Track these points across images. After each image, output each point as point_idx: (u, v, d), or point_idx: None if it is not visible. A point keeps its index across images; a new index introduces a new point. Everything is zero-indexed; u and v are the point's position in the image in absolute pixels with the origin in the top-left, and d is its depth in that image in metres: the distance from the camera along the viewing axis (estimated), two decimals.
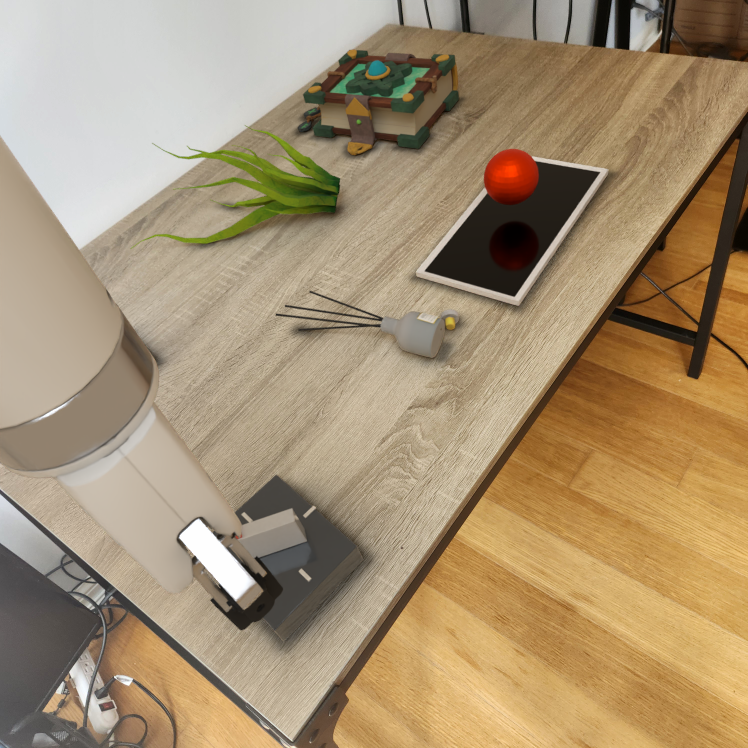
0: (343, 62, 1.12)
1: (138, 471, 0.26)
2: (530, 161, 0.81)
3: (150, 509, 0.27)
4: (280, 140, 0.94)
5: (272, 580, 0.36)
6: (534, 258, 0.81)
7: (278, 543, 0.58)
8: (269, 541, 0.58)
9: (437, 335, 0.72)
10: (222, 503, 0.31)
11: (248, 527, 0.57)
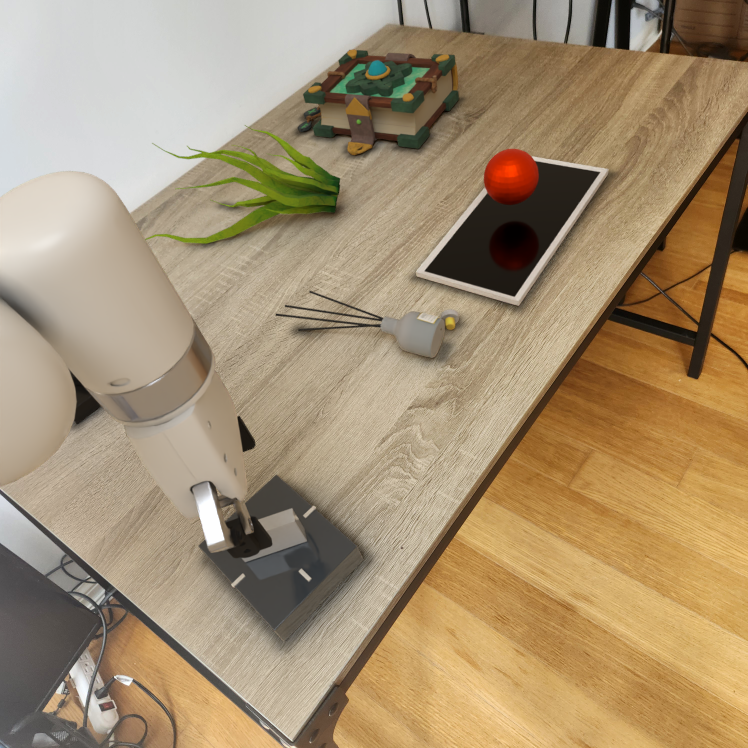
0: (343, 62, 1.12)
1: (169, 442, 0.39)
2: (530, 161, 0.81)
3: (173, 466, 0.41)
4: (280, 140, 0.94)
5: (263, 536, 0.49)
6: (534, 258, 0.81)
7: (278, 543, 0.58)
8: None
9: (437, 335, 0.72)
10: (229, 477, 0.43)
11: None
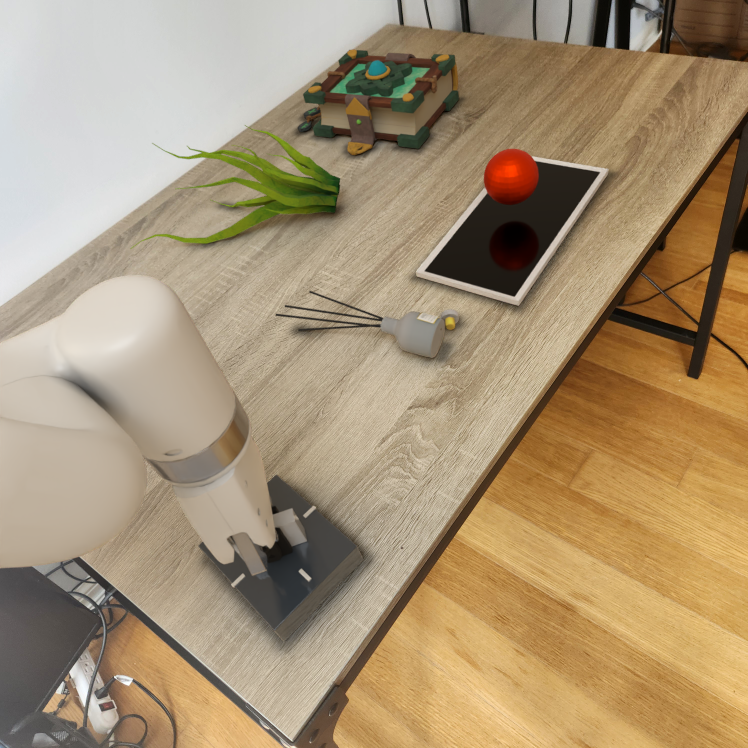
0: (343, 62, 1.12)
1: (212, 501, 0.45)
2: (530, 161, 0.81)
3: (214, 521, 0.46)
4: (280, 140, 0.94)
5: (285, 544, 0.57)
6: (534, 258, 0.81)
7: None
8: None
9: (437, 335, 0.72)
10: (262, 528, 0.48)
11: None
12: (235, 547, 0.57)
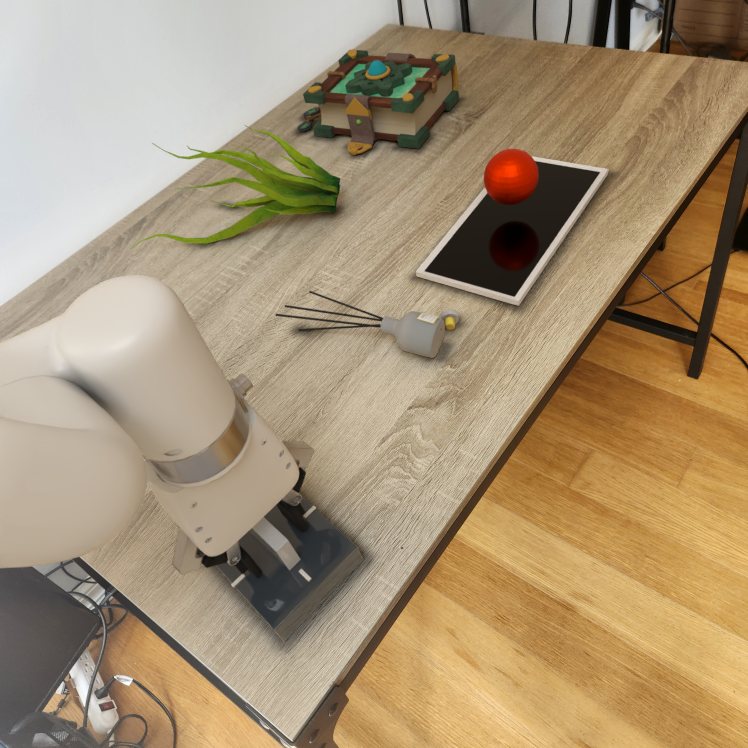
0: (343, 62, 1.12)
1: (157, 492, 0.46)
2: (530, 161, 0.81)
3: (160, 503, 0.48)
4: (280, 140, 0.94)
5: (250, 570, 0.56)
6: (534, 258, 0.81)
7: (269, 549, 0.58)
8: (262, 541, 0.58)
9: (437, 335, 0.72)
10: (196, 541, 0.49)
11: None
12: None
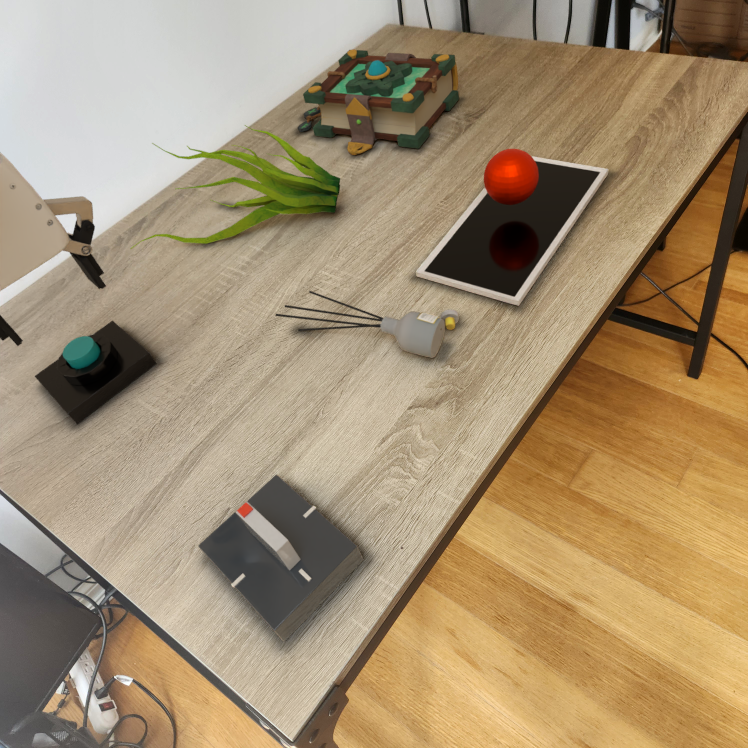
0: (343, 62, 1.12)
1: None
2: (530, 161, 0.81)
3: None
4: (280, 140, 0.94)
5: (6, 334, 0.63)
6: (534, 258, 0.81)
7: (269, 549, 0.58)
8: (262, 541, 0.58)
9: (437, 335, 0.72)
10: None
11: (255, 516, 0.57)
12: (240, 518, 0.59)
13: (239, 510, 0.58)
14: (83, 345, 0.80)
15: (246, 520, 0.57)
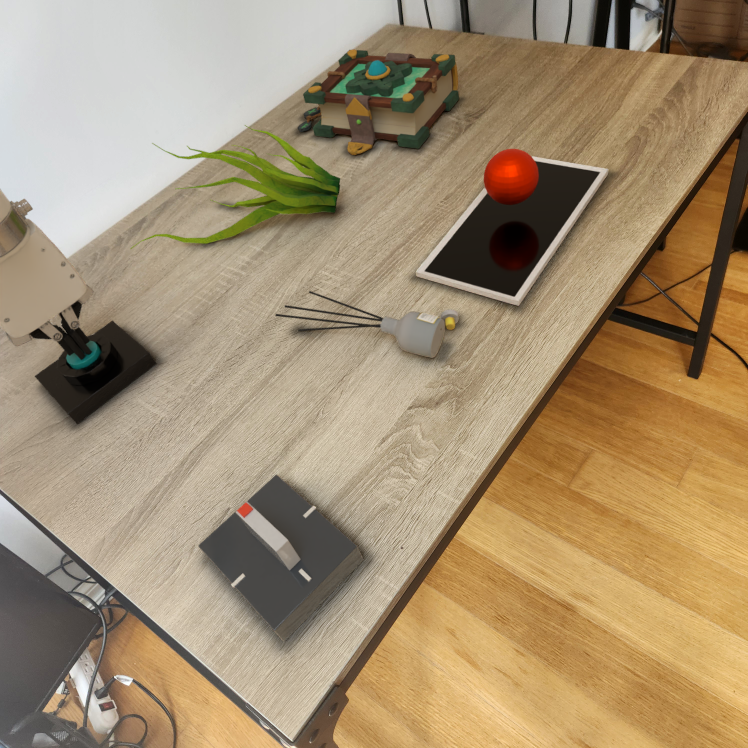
0: (343, 62, 1.12)
1: None
2: (530, 161, 0.81)
3: None
4: (280, 140, 0.94)
5: (73, 350, 0.78)
6: (534, 258, 0.81)
7: (269, 549, 0.58)
8: (262, 541, 0.58)
9: (437, 335, 0.72)
10: None
11: (255, 516, 0.57)
12: (240, 518, 0.59)
13: (239, 510, 0.58)
14: None
15: (246, 520, 0.57)
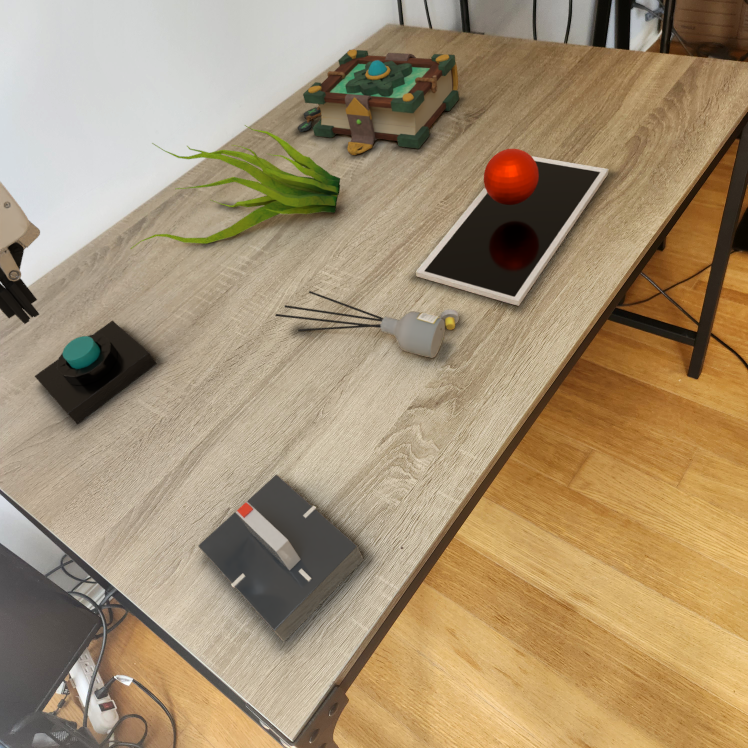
0: (343, 62, 1.12)
1: None
2: (530, 161, 0.81)
3: None
4: (280, 140, 0.94)
5: (13, 310, 0.59)
6: (534, 258, 0.81)
7: (269, 549, 0.58)
8: (262, 541, 0.58)
9: (437, 335, 0.72)
10: None
11: (255, 516, 0.57)
12: (240, 518, 0.59)
13: (239, 510, 0.58)
14: (83, 345, 0.80)
15: (246, 520, 0.57)
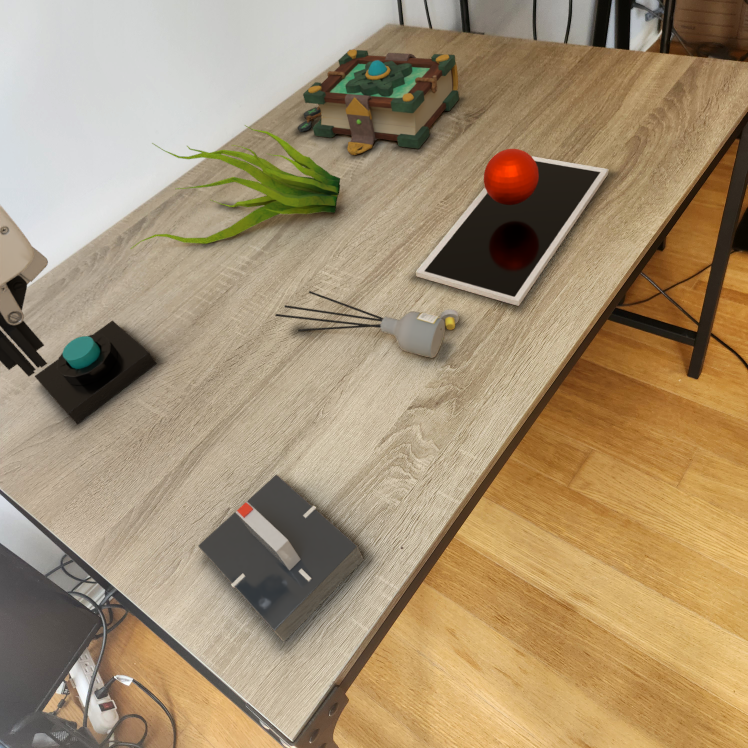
0: (343, 62, 1.12)
1: None
2: (530, 161, 0.81)
3: None
4: (280, 140, 0.94)
5: (14, 361, 0.46)
6: (534, 258, 0.81)
7: (269, 549, 0.58)
8: (262, 541, 0.58)
9: (437, 335, 0.72)
10: None
11: (255, 516, 0.57)
12: (240, 518, 0.59)
13: (239, 510, 0.58)
14: (83, 345, 0.80)
15: (246, 520, 0.57)
